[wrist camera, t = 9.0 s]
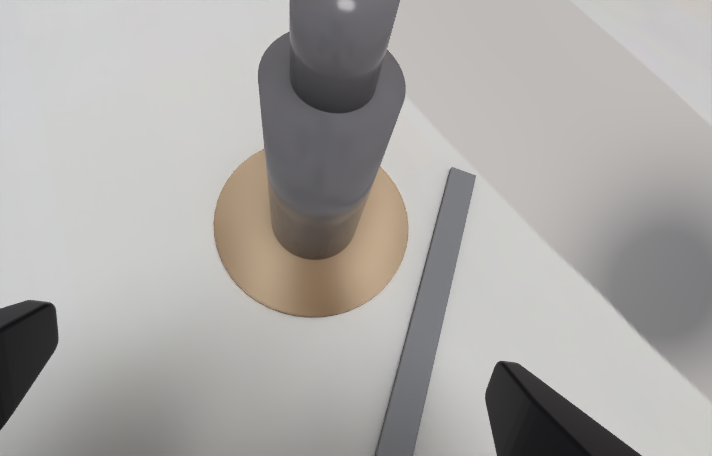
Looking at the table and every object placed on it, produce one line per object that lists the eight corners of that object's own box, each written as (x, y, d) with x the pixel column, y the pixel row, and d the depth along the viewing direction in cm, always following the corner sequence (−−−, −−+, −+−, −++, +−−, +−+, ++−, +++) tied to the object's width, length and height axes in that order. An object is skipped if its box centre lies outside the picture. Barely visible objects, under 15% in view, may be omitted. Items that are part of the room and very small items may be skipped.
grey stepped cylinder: (313, 277, 20) (348, 87, 8) (253, 217, 21) (206, -34, 9) (373, 222, 22) (473, -1, 10) (315, 168, 23) (345, -97, 11)
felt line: (405, 478, 18) (407, 479, 17) (372, 466, 17) (373, 467, 17) (473, 178, 24) (475, 175, 24) (450, 169, 24) (451, 166, 24)
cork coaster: (247, 348, 19) (246, 347, 18) (193, 167, 22) (192, 163, 22) (437, 277, 21) (439, 275, 21) (364, 126, 25) (365, 122, 24)
